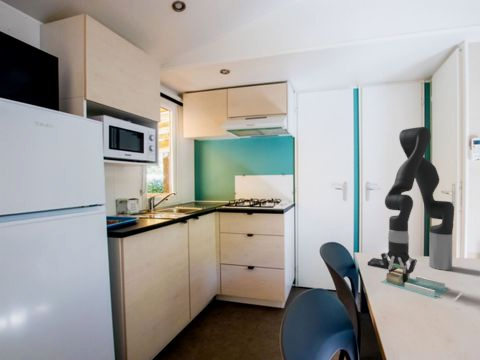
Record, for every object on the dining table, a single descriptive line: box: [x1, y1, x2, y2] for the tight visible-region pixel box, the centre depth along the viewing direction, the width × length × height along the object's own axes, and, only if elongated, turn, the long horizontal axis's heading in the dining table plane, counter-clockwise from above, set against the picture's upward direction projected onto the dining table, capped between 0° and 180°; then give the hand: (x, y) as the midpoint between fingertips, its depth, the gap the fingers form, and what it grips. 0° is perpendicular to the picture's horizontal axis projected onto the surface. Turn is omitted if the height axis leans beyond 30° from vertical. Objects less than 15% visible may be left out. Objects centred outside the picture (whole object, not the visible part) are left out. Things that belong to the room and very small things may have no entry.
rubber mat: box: [380, 277, 450, 300], centre depth 112 cm, size 16×20×1 cm
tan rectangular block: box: [385, 268, 411, 285], centre depth 117 cm, size 12×4×4 cm, turn 128°
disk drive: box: [367, 257, 402, 271], centre depth 136 cm, size 10×3×15 cm
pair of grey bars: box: [405, 275, 446, 297], centre depth 109 cm, size 13×10×2 cm
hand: (398, 279), depth 117 cm, fingers closed on tan rectangular block, 4 cm apart
